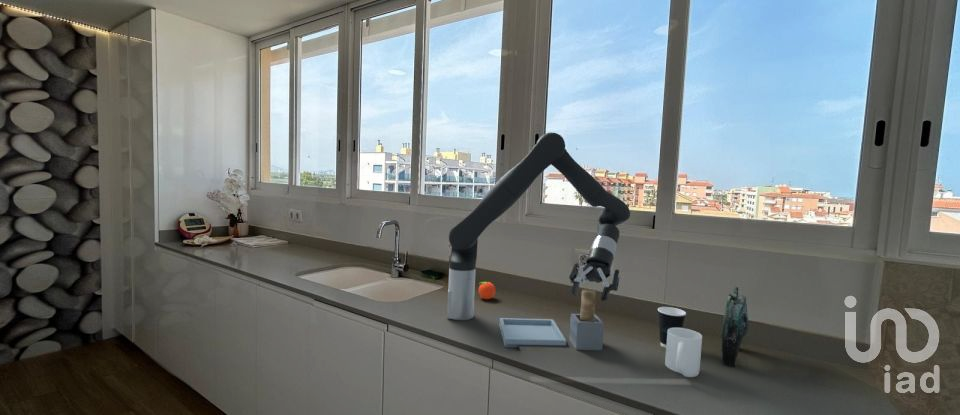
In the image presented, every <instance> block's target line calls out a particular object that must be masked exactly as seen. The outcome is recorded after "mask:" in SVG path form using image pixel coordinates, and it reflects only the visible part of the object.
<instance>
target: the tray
mask: <svg viewBox="0 0 960 415" xmlns="http://www.w3.org/2000/svg"><path fill="white" fill-rule="evenodd" d="M498 323H499V325H498V327H499V329H500V334H501V338H502V342H503V345H504V348H513V349H514V348H516V349H520V345H522V346H526V345H527V346H533V345H534V346H559V347H561V346H562V347H563V346H565V347H566V346H567V340H566V338H565V336H564V335H563V333H562V331H561V330H560V329H559V327H558V325H557V323H556V321H555V320H554V319H553V318H552V319H551V318H550V319H549V318H514V317H513V318H510V317H499V322H498Z"/></svg>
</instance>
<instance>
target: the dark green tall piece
mask: <svg viewBox="0 0 960 415" xmlns="http://www.w3.org/2000/svg"><path fill="white" fill-rule="evenodd" d="M732 290H733V293H731V292H730V293H729V294H728V295H727V299H726V305H725V312H724V315H723V317H722V318H723V319H722V326H721V327H722V328H721V353H722V355H721V357H722V359H721V363H722V365H723V366H724V365H725V366H726V367H727V366H729V367H732V368H735V366H736V362H737V358H738V355H739V351H741V350H740V349H741V344H742V343H743V342H742V341H743V339H744V338H745V337H746V335H747V333H748V331H749V317H748V306H747V296H746V295H744V294H739V287H737V286H735V287H734V288H733V289H732Z"/></svg>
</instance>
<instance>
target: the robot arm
mask: <svg viewBox="0 0 960 415" xmlns="http://www.w3.org/2000/svg"><path fill="white" fill-rule="evenodd" d="M550 166H552V167H554V168H555V169H556V170H557V171H558V172H559V173H560V174H561V175H563V177H564V178H565V179H566V180H567V181H568V183H569V184H571V186H572V187H573V188H574V189H575V190H576V192H577V193H578V194H579V195H580V196H581V197H582V198H583V199H584V200H585V201H586V202H587V203H588V205H590V206H591V207H593V208H596V207H603V209H601V210H600V211H599V213H598V216H597V231H596V234H595V237H594V240H593V242H592V244H591V246H590V250H589V252H588V254H587V255H588V256H587V259H586V261H585V264H584V265H583V266H582V265H579V263H577V262H575V263H574V265H573V267H572V270H571V272H570V274H569V277H568V279H569V281H570V283H571V284H572V288H571V292H572V293H571V294H572V295H573V296H574V297H577V296H578V293H579V289H580V286H581V285H583V284H585V283H587V282H588V281H589V282H592V283H593V282H595V283H597V284H599V283H602V285H603V286H604V287H603V290H602V293H601V297H600V299H601V302H603V303H604V302H606V301H608V299H609V295H610V292H611V291H614V292H617V291H618V288H619V284H620V278H621V274H620V270H619V269H615V270H611V269H612V266H613V263H614V259H615V257H616V250H617V246H618V245H617V244H618V242H619V238H620V235H621V234H620V230H619V228H618V227H617V226H618V225H621V224H622V223H625V222H626V221H628V220H629V219H630V217H631V210H630V207H629V206H628V205H627V204H626V202H625V201H623V200H622V199H620V198H618V197H617V196H615V195H614V194H612V193H611V192H609V191H608V190H606V189H605V188H604V187H603V185H601V183H600V182H598V180H597V179H595V178H594V176H593V175H591V174H590V173H589V172H588V171H587V170H586V169H584V168H583V167H582V166H581V165H580V164H579V163H577V161H576V160H575V159H574V158H573V157H572V156H571V155H570V153H569V152H568V150H567V149H566V142H565V139H564V137H563V136H562V135H561V134H559V133H556V132H546V133H544V134H542V135H541V136H540V137H539V138H538V139H537V141H536V144H534V146H533V147H532V149H530V151H529V153H527V154H526V156H525V157H524V158H523V159H522V160H521V161H519V163H517V164H516V165H514V166H513V167H512V168H511V169H509V170H507V172H506V173H505V174H503V176H501V177H500V178H499V179H498V180H497V181H496V183H495V184H493V186H492V187H491V188H489V190H488V191H487V192H486V193H485V195H484V196H483V197H482V198H481V200H480V201H479V202H478V204H477V205H476V206H475V207H474V209H473V210H472V211H470V212H469V213H468V214H467V215H466V216H465V217H464V218H463V219H461V220H460V221H459V222H458V223H456V224H455V225H453V227H451V229H450V230H449V233H448V242H449V244H450V246H451V250H450V257H449V264H448V266H449V267H448V287H447V288H448V290H447V309H446V310H447V311H446V312H447V314H446V318H447V319H451V320H455V321H468V320H472V319H473V318H474V313H475V291H476V287H475V286H476V264H477V258H478V242H479V237H480V236H481V235H482V233H483V232H484V231H485V230H486V228H488V226H490V224H492V223H493V222H494V221H496V220H497V219H498V218H499V217H501V216H502V215H503V214H504V213H506V212H507V211H508V210H509V209H510V208H511V207H512V206H513V205H515V203H516V202H517V201H518V200H519V199H520V198H521V197H522V196H523V195H524V194H525V192H527V191H528V189H529V188H530V186H531V185H532V184H533V183H534V182H535V180H536V179H537V178H538V176H540V175H541V174H542V173H543V172H544V171H545V170H547V168H548V167H550ZM578 275H579V276H578ZM610 276H611V277H612V282H611V283H609V282H608V279H607V278H609V277H610Z"/></svg>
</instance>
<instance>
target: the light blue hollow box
mask: <svg viewBox="0 0 960 415" xmlns="http://www.w3.org/2000/svg"><path fill="white" fill-rule="evenodd" d="M569 323H570V324H569V336H568V340H569V341H570V343H571V344H572V346H573V347H574V349H575V350H576V351H603V345H604V344H603V342H604V328H605V323H604V321H603V320H602V319H600V317H599V316H598V314H596V313H594V322H589V321H580V313H570V321H569Z"/></svg>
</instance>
